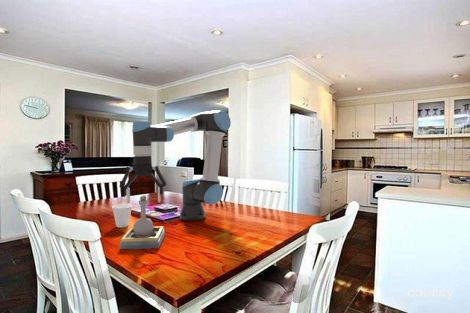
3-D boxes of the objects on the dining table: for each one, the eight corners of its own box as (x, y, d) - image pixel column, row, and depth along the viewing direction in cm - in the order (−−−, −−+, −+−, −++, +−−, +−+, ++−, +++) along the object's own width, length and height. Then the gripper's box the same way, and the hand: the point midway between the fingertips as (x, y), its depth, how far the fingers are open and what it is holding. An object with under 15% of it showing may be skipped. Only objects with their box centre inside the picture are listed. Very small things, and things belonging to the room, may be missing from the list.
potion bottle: (157, 233, 121) (157, 194, 120) (145, 239, 113) (144, 198, 112) (142, 230, 124) (141, 193, 123) (128, 237, 116) (128, 197, 115)
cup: (125, 229, 136) (124, 208, 135) (108, 228, 138) (107, 207, 137) (135, 223, 145) (135, 204, 145) (120, 222, 147) (119, 203, 147)
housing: (164, 235, 127) (164, 226, 127) (158, 248, 111) (158, 237, 111) (130, 236, 125) (130, 227, 125) (119, 249, 110) (119, 239, 109)
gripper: (171, 154, 122) (173, 199, 123) (116, 155, 119) (118, 201, 120) (169, 155, 114) (171, 203, 116) (110, 156, 111) (112, 205, 113)
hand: (144, 202), depth 118 cm, fingers open, 13 cm apart
